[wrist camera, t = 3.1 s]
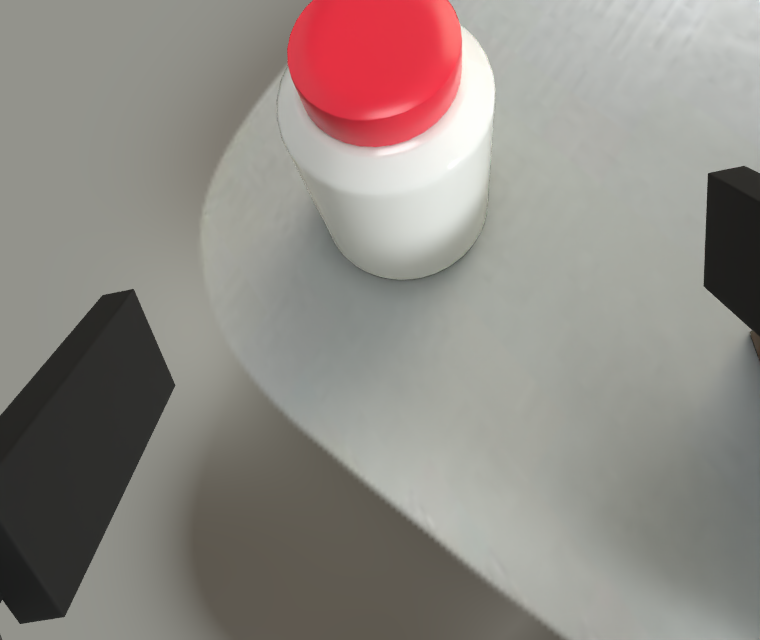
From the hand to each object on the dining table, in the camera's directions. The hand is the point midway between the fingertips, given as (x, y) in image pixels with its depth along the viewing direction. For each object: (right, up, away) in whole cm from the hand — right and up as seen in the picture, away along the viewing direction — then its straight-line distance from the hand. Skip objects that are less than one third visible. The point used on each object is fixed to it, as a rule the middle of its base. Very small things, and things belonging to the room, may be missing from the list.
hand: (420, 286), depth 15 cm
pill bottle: (0, +5, +16) cm, 16 cm away
